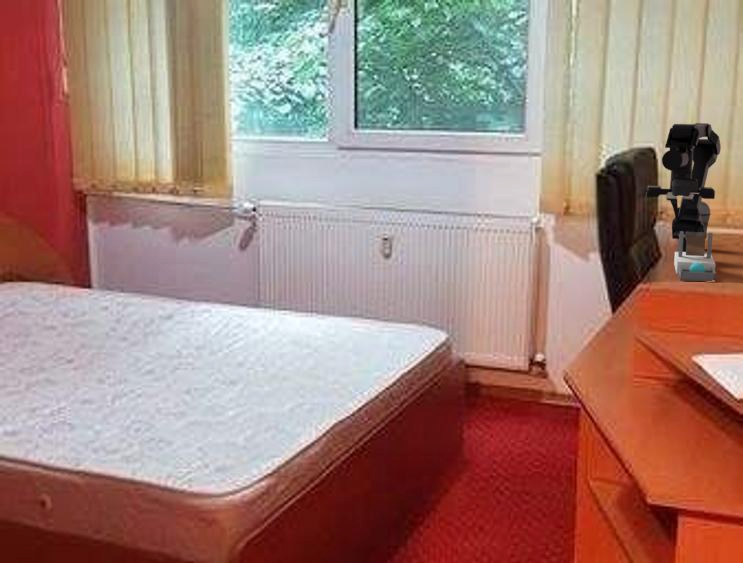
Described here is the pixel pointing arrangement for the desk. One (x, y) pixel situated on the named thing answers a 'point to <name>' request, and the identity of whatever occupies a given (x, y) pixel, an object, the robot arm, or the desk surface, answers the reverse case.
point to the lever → (695, 243)
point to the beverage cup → (704, 214)
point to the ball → (697, 267)
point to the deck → (688, 260)
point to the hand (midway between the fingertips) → (677, 221)
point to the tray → (696, 275)
